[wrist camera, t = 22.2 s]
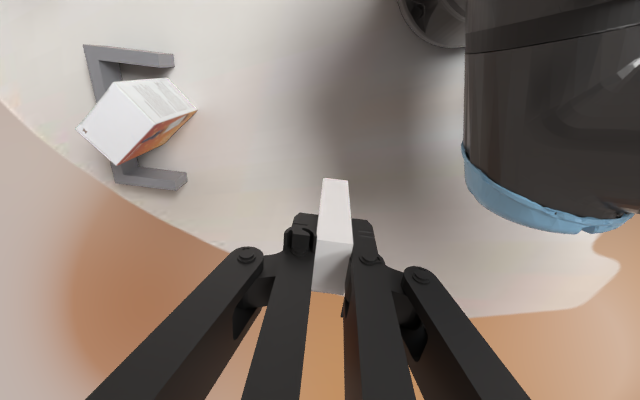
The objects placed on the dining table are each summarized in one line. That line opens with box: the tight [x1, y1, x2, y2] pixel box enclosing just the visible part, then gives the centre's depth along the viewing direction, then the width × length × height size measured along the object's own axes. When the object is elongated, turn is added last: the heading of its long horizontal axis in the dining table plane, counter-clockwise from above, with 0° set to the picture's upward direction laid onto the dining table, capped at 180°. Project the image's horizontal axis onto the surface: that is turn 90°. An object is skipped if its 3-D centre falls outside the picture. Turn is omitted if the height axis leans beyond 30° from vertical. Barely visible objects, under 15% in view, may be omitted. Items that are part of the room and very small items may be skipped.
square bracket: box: [83, 45, 187, 191], centre depth 39 cm, size 18×9×4 cm, turn 174°
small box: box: [75, 77, 197, 166], centre depth 35 cm, size 8×6×10 cm
